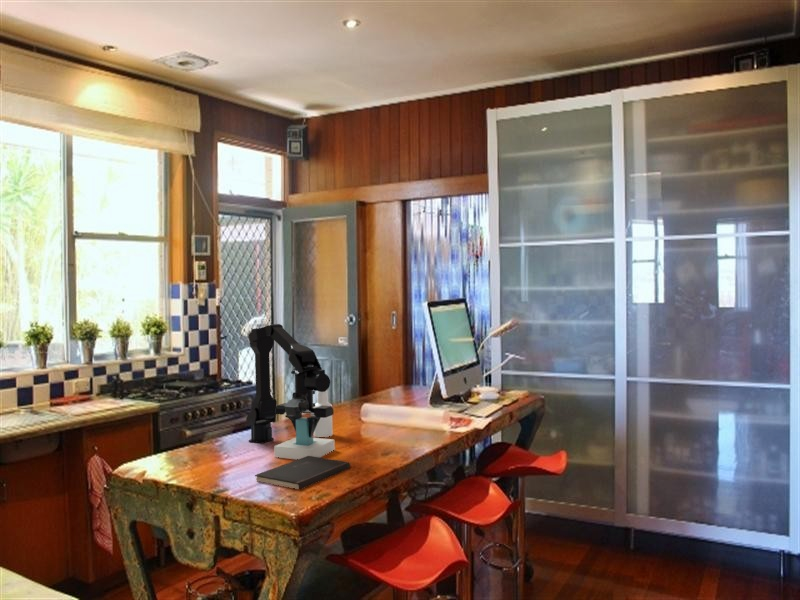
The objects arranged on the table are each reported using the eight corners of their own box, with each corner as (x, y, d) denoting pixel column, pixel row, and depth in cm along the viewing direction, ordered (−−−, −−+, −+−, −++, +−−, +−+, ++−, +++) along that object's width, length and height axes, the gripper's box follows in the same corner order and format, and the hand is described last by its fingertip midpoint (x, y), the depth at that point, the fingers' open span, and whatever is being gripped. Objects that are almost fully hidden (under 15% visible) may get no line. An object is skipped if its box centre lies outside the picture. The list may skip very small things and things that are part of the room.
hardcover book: (255, 483, 176) (254, 474, 176) (308, 463, 196) (308, 455, 195) (299, 492, 168) (299, 483, 167) (350, 470, 187) (350, 462, 187)
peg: (296, 450, 203) (295, 419, 203) (302, 447, 207) (302, 417, 207) (306, 451, 202) (306, 420, 202) (313, 448, 206) (312, 418, 205)
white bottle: (334, 433, 232) (333, 384, 232) (330, 438, 226) (329, 387, 225) (316, 433, 233) (315, 384, 233) (311, 437, 226) (310, 387, 226)
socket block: (274, 457, 201) (274, 446, 201) (298, 446, 214) (297, 436, 214) (312, 461, 195) (312, 449, 195) (334, 450, 208) (334, 439, 208)
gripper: (265, 391, 200) (265, 440, 201) (316, 394, 193) (317, 445, 193) (284, 385, 211) (285, 432, 211) (334, 388, 203) (334, 436, 204)
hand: (304, 436), depth 204 cm, fingers open, 4 cm apart
